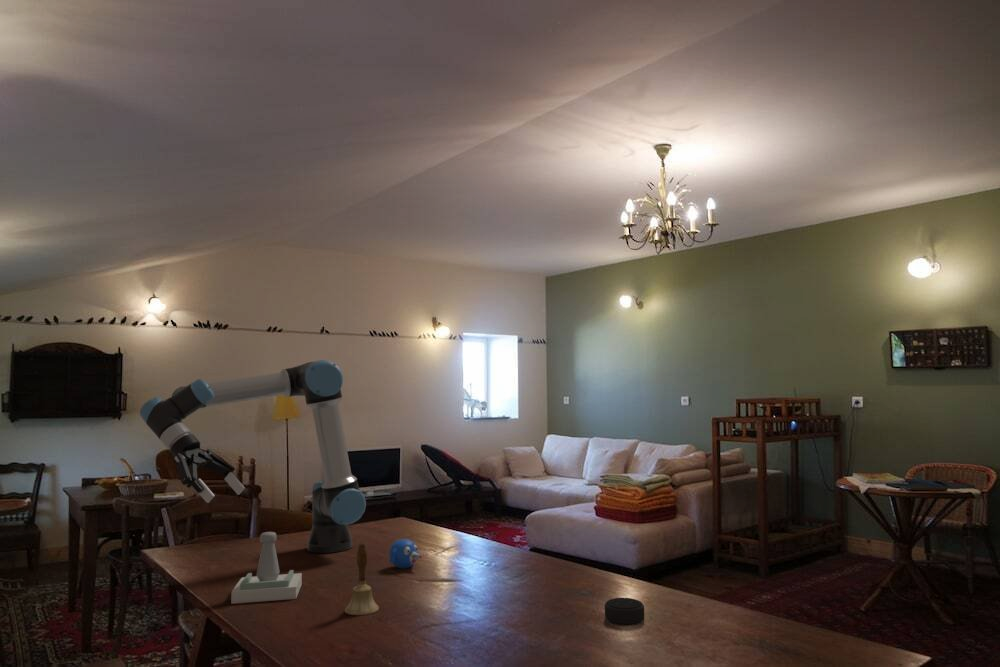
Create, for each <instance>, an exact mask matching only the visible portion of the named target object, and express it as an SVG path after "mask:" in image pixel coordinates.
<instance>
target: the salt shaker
mask: <svg viewBox="0 0 1000 667" xmlns="http://www.w3.org/2000/svg"><path fill="white" fill-rule="evenodd" d="M277 538H278V537H277V533H276V532H275V531H265V532H262V533H261V534H260V535H259V542H260V543H261V550H260V556H259V559H258V563H257V564H258V566H257V569H256V576H257V577H258V579H259V581H260V582H262V581H276V580H277V578H278V575H280V566H279V561H278V555H277V551H276V550H277V549H276V545H275V544H276V543H275V542H276V541H277Z"/></svg>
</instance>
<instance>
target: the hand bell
mask: <svg viewBox="0 0 1000 667" xmlns="http://www.w3.org/2000/svg"><path fill="white" fill-rule="evenodd" d="M356 563H357V567H358V582H357V583H358V584H357V585H356V586H353V588H352V594H351V599H350V601H349V603H348V604H347V606H346V607H345V608H344V613H345V614H347V615H350V616H366V615H371V614H375V613H377V612H379V610H380V606H379V605H378V604H377V603H376V602H375V600H374V597H373V592H372V587H371V585H368V584H367V583H366V580H367V579H366V568H367V563H368V550H367V548H366V544H365V543H364V542H361V543H359V545H358V550H357V552H356Z"/></svg>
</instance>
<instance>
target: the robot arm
mask: <svg viewBox="0 0 1000 667" xmlns="http://www.w3.org/2000/svg"><path fill="white" fill-rule="evenodd" d="M343 384H344V375H343V372H342V370H341V368H340V367H339V366H338V365H337V364H335V363H334V362H332V361H329V360H324V359H321V360H319V359H318V360H315V361H310V362H309V361H308V362H306V363H303V364H300V365H296V366H293V367H289V368H288V367H287V368H283V369H281V371H280V372H276V373H269V374H261V375H254V376H248V377H241V378H235V379H228V380H222V381H214V382H206V381H205V380H204V379H202V378H198V379H196V380H195V381H193V382H192V381H191V383H190V384H188V385H186V386H180V387H178V388H176V389H175V390H174V391H173V392H172V394H171V396H170V397H169V398H167V399H163V398H162V397H153V398H151V399H149V400H148V401H146V402H144V404H143V405H142V406H141V408H140V409H139V415H140V417H141V418H142V420H143V421H144V422H145V424H146V426H148V428H149V429H150V430H151V431H152V432H153V433H154V434H155V436H156V437H157V438H158V439H159V440H160V441H161V442H162V444H164V446H165V447H166V448H167V449H168V450H169V451H170V453H171V455H172V456H173V457H174V458H173V459H172V462H173V463H174V465H175V466H176V469H177V472H178V474H179V478H180V481H181V483H182V485H184V486H186V487H187V488H191V487H192V488H193V489H194V490H195V491H196V492H197V494H199V495H200V497H201V498H202V499H203V500H204V501H205V502H206V504H209V503H210V502H211V501H212V500H213V499H214V498H215V496H216V495H215V494H214V493H213V492H212V490H211V489H210V488H209V487H208V485H207V484H206V483H205V482H204V481H203V480H202V479H201V478H198V468H203V469H208V470H210V471H212V472H214V473H215V474H218V475H220V476H222V477H224V481H225V482H226V483H227V484H228V485H229V487H230V488H231V489H232V490H233V491H234V492H235V493H236V495H238V496H239V495H241V494H242V492H243V491H244V490H245V489H246V487H245V486H244V485H243V483H242V482H241V481H240V480H239V479H238V478H237V477H236V475H235V474H234V471H235V470H236V469H235V467H234V466H233V465H231V464H229V463H228V462H226V461H225V460H224V459H222V458H221V457H220V456H218V455H217V454H216V453H214V452H213V451H212V450H211V449H209V448H208V449H207V450H205V451H204V450H202V449H201V442H200V440H199V439H198V438H197V437H196V436H195V435H194V434H193V432H192V431H191V430H190V429H189V428H188V427H187V426H186V424H185V423H184V422H183V420H185V419H186V418H187V417H189V416H191V415H192V414H194V413H195V412H196V411H197V410H200V409H203V408H209V407H215V406H222V405H228V404H232V403H233V404H234V403H241V402H245V401H246V402H247V401H252V400H257V399H265V398H272V397H277V396H285V397H286V398H289V397H296V396H297V397H298V396H299V397H300V396H302V397H304V398H305V404H306V406H308V407H309V408H311V410H312V411H311V412H312V415H313V422H314V426H315V433H316V437H317V443H318V447H319V449H318V450H319V454H320V459H321V464H322V471H323V474H324V481H317V482H314V483H313V484H312V490H311V494H312V497H311V498H312V501H311V502H312V504H311V505H312V506H311V507H312V508H311V509H312V511H311V512H312V528H311V530H310V534H309V537H308V540H307V544H306V550H307V551H308V552H311V553H315V554H316V553H317V554H328V553H329V554H330V553H337V552H344V551H347V550H350V549H351V548H353V539H352V538H353V537H352V535H351V531H350V529H349V527H348V526H349V525H352V524H354V523H356V522H358V521H359V520H360V519H361V518H362V516H363V515H364V513H365V511H366V507H367V500H366V498H365V494H363V492H362V491H361V490H360V487H359V482H358V478H357V477H356V476H355V475H353V473H352V470H351V469H352V468H351V465H350V459H349V453H348V448H347V443H346V442H347V441H346V437H345V432H344V426H343V422H342V417H341V416H342V414H341V411H340V405H339V404H340V402H341V400H343V395H342V386H343Z"/></svg>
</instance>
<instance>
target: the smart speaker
mask: <svg viewBox="0 0 1000 667" xmlns="http://www.w3.org/2000/svg"><path fill="white" fill-rule="evenodd" d="M645 617H646V616H645V605H644V604H643V602H642V601H640V600H639V599H634V598H632V597H631V598H630V597H615V598H610V599H608V600H607V601H606V602H605V603H604V618H605V620H606V621H607V622H609V623H611V624H613V625H618V626H626V627H627V626H636V625H638V624H642V622H643V621H644V620H645Z"/></svg>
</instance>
